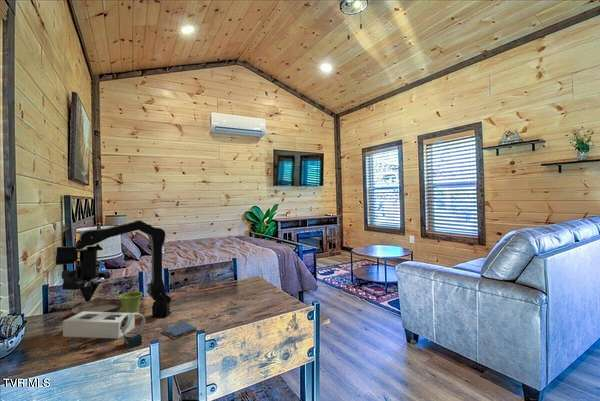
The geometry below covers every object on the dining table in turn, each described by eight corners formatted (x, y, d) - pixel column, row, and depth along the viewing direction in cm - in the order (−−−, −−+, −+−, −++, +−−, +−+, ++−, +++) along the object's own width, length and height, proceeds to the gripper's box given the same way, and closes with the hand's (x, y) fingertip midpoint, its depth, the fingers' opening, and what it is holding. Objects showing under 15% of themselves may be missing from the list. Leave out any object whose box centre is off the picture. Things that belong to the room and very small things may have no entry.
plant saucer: (61, 315, 139) (61, 308, 139) (108, 302, 157) (108, 296, 157) (88, 324, 129) (88, 316, 129) (134, 309, 148) (134, 302, 148)
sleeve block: (134, 327, 126) (134, 313, 126) (118, 338, 116) (118, 322, 116) (83, 325, 127) (83, 311, 127) (62, 336, 117) (63, 320, 117)
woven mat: (184, 325, 130) (184, 320, 130) (199, 332, 123) (199, 327, 123) (160, 333, 122) (160, 328, 122) (174, 341, 115) (174, 335, 115)
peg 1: (98, 328, 124) (98, 314, 124) (89, 333, 119) (89, 318, 119) (86, 327, 124) (86, 313, 124) (77, 332, 119) (77, 318, 119)
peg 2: (121, 329, 123) (122, 315, 123) (114, 334, 118) (114, 319, 118) (110, 328, 124) (110, 314, 124) (102, 333, 119) (102, 319, 119)
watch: (117, 345, 110) (118, 314, 110) (142, 338, 116) (142, 309, 116) (122, 350, 106) (122, 318, 106) (147, 343, 112) (147, 313, 112)
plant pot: (126, 319, 135) (126, 299, 135) (114, 314, 140) (115, 295, 140) (146, 312, 143) (146, 293, 143) (135, 308, 148) (135, 290, 148)
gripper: (86, 257, 131) (86, 294, 131) (48, 266, 113) (47, 309, 113) (111, 258, 131) (111, 294, 131) (77, 267, 112) (76, 310, 112)
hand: (87, 301), depth 122 cm, fingers closed
